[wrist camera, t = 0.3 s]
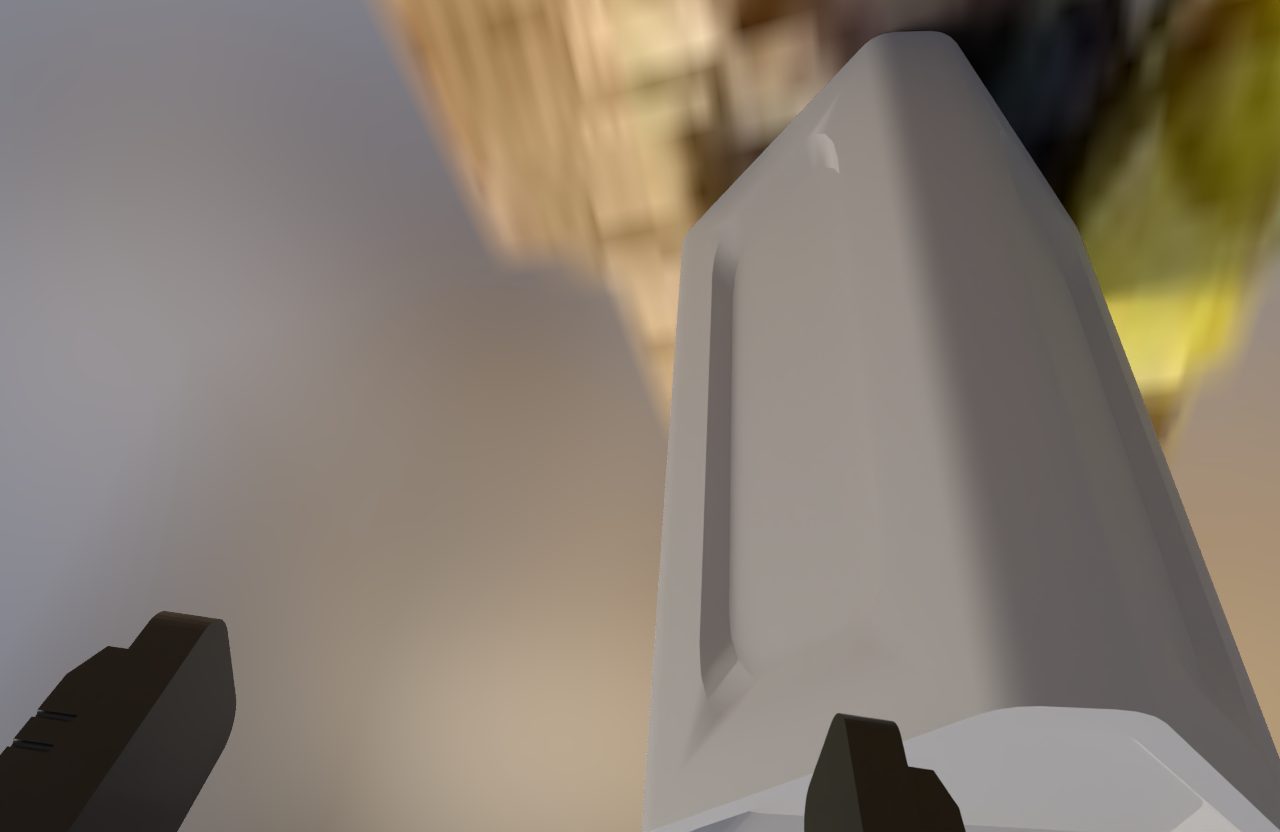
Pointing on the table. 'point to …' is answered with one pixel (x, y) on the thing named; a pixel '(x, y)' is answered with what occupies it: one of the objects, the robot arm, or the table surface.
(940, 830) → the robot arm
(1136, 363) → the table surface
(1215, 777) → the grey tall block
